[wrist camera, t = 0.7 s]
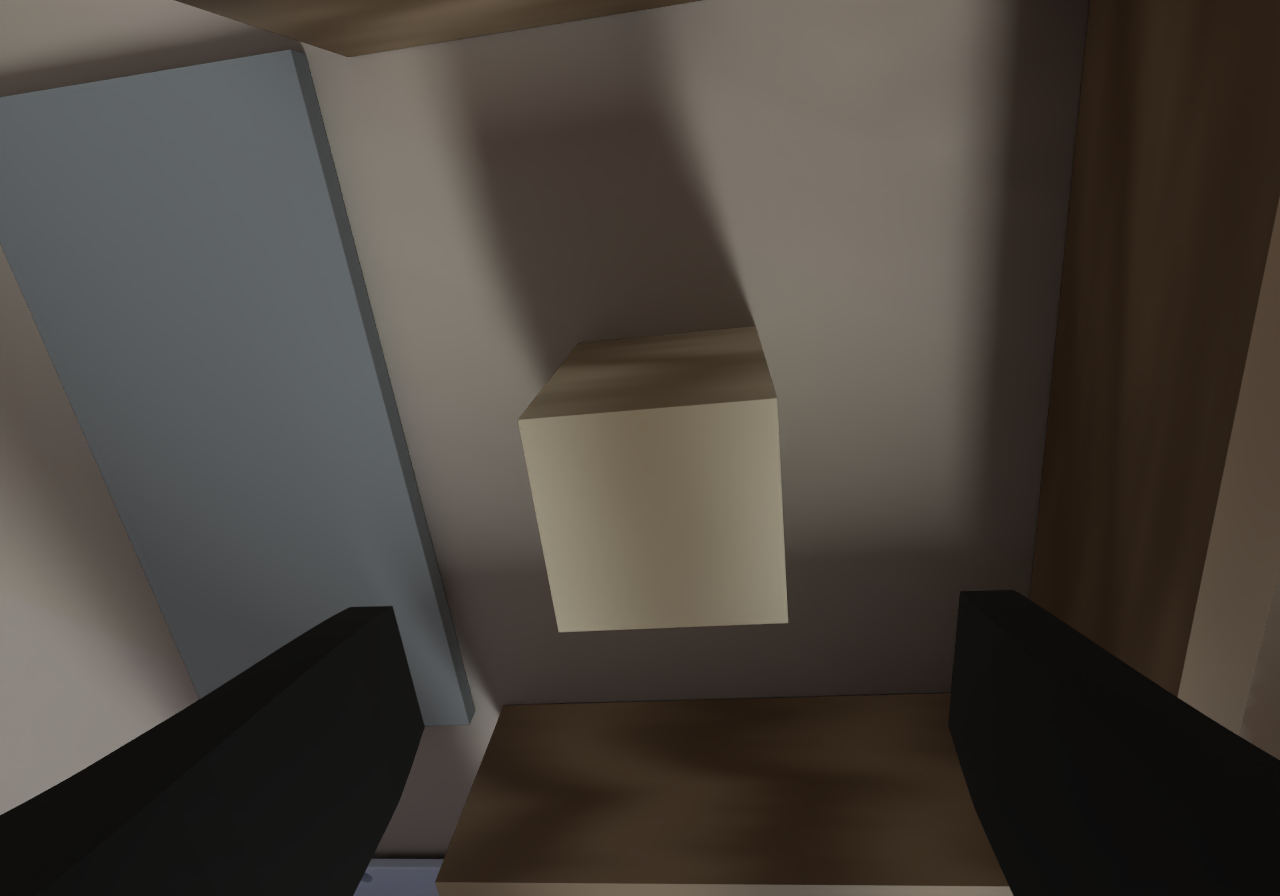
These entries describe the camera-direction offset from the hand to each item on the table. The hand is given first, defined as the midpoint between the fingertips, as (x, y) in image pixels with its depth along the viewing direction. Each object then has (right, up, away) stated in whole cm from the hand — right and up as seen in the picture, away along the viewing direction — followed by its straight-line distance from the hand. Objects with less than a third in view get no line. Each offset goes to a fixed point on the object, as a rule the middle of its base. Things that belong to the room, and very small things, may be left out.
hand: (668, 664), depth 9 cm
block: (+1, +4, +9) cm, 10 cm away
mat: (-11, +3, +11) cm, 16 cm away
